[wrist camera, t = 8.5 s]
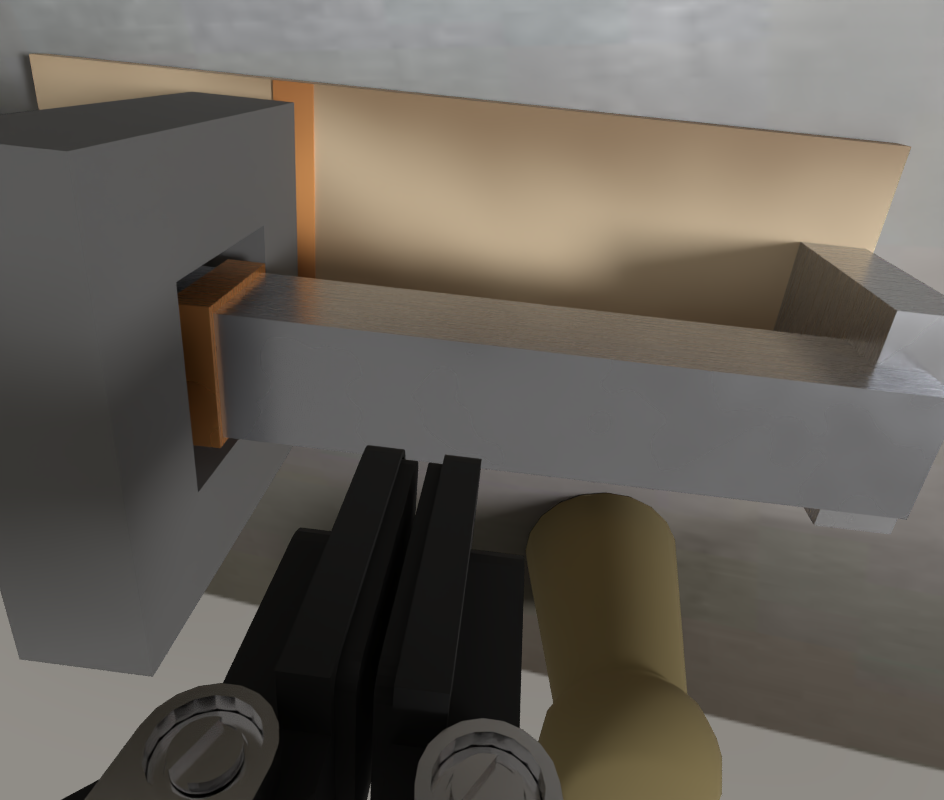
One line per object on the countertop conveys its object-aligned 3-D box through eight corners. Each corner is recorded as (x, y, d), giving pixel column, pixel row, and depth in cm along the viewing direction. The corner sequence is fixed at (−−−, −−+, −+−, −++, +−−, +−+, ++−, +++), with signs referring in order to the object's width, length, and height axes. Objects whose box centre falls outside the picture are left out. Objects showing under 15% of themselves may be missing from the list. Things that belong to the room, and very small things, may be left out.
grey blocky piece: (54, 159, 22) (-173, 211, 15) (866, 248, 21) (1032, 347, 14) (85, 335, 25) (-96, 450, 18) (805, 419, 24) (920, 575, 17)
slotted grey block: (192, 91, 20) (-130, 129, 10) (293, 102, 20) (66, 151, 10) (219, 422, 25) (19, 659, 15) (301, 432, 25) (153, 677, 15)
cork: (523, 607, 30) (518, 877, 20) (528, 489, 27) (525, 735, 17) (666, 614, 30) (732, 895, 20) (685, 496, 27) (773, 752, 17)
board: (45, 53, 22) (27, 54, 21) (898, 143, 21) (912, 147, 20) (103, 399, 27) (90, 409, 26) (780, 480, 26) (788, 493, 25)
